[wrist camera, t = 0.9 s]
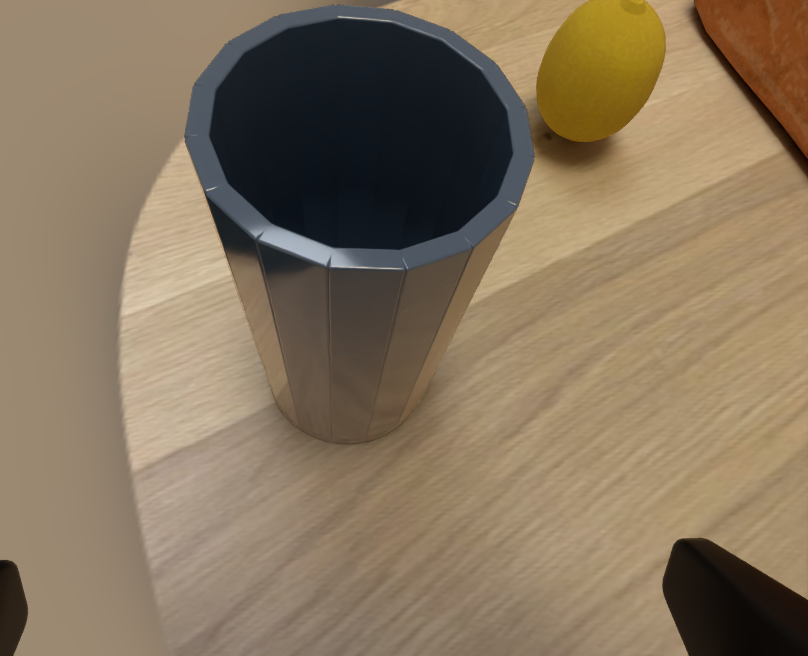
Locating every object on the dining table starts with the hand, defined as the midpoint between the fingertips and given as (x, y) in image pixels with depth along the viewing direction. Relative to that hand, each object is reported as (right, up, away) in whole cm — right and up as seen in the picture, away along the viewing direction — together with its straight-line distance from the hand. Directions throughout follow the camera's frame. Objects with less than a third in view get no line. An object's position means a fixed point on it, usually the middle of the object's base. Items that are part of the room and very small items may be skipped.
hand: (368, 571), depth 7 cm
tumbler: (-2, +2, +16) cm, 16 cm away
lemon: (+10, +14, +23) cm, 29 cm away
